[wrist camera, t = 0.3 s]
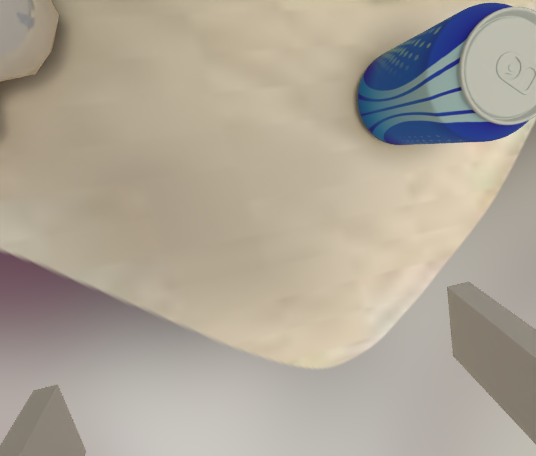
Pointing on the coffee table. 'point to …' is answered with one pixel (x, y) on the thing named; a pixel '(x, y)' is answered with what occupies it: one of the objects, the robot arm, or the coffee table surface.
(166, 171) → the coffee table surface
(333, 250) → the coffee table surface
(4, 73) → the potion bottle
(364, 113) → the beer can
